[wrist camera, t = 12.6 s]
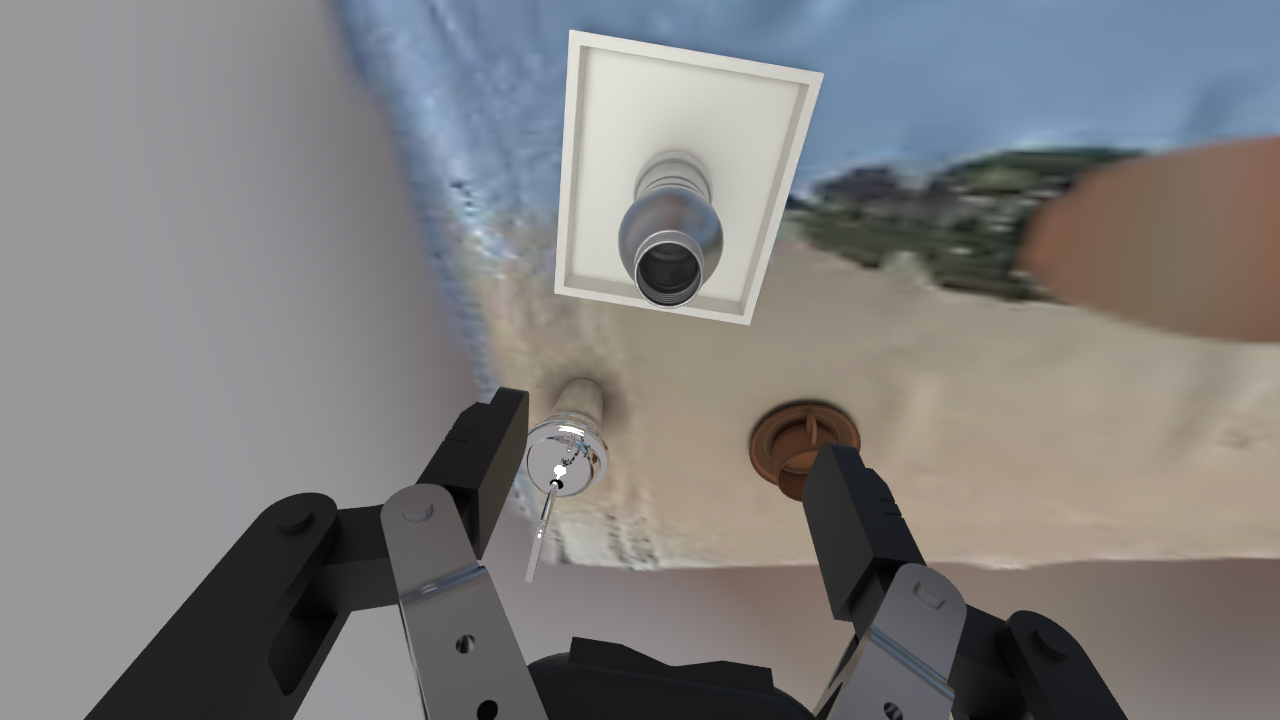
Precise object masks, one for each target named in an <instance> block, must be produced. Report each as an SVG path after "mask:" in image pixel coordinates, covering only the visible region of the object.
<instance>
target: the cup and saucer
mask: <svg viewBox="0 0 1280 720" xmlns="http://www.w3.org/2000/svg"><path fill="white" fill-rule="evenodd" d="M825 442H830V443H836V444H842V445H848V446H853V447H855V448H856V449H857V451H858V453H859V452H860V447H861V441H860V435H859V433H858V430H857V429H856V427H855V425H854V424H853V423H852V422H851V421H850V420H849V419H848V418H847V417H846V416H845V415H843V414H842V413H840V412H838V411H836V410H834V409H831V408H828V407H824V406H818V405H802V406H795V407H791V408H787V409H785V410H782V411H780V412H778V413H776V414H774V415H772V416H771V417H769V418H768V419H766V420H765V421H764V422H763V423H762V424H761V425H760V426H759V427H758V429H757V430H756V431H755V433H754V435H753V437H752V440H751V443H750V460H751V463H752V465H753V467H754V469H755V470H756V472H757V473H758V474H759V475H760V476H761V477H762V478H764V479H765V480H767V481H768V482H770V483H772V484H774V485H777V486H778V487H779V489H780V490H781V491H782V493H783V494H785V495H786V496H787V497H789V498H791V499H793V500H796V501H800V502H802V492H803V486H804V482H805V480H806V478H807V476H808V473H809V471H810V469H811V467H812V465H813V463H814V460H815V458H816V456H817V454H818V452H819V449H820V447H821V446H822V444H823V443H825Z"/></svg>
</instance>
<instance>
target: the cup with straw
mask: <svg viewBox="0 0 1280 720" xmlns="http://www.w3.org/2000/svg"><path fill="white" fill-rule="evenodd" d="M602 415H603V392H602V390H601V389H600V387H599V386H598V385H597V384H595V383H594V382H592V381H590V380H586V379H576V380H573V381H571V382H569V383H568V384H567V385H566V386H565V388H564V390H563V392H562V393H561V395H560V396H559V398H558V400H557V401H556V403H555V405H554V407H553V408H552V410H551V412H550V413H549V415H548V417H547V418H546V419H545V420H544V421H543V422H541V423H539V424H537V425H535V426H534V427H533V428H531V429H530V430H529V431H528V439H527V445H526V449H525V453H524V456H523V459H522V462H523V465H524V467H525V468H526V470H527V471H528V473H529V476H530V479H531V480H532V482H533V483H534V485H535V486H536V487H537V488H538V489H539V490H541V491H542V492H544V493H545V494H547V495H548V496H547V499H546V503H545V506H544V509H543V512H542V515H541V519H540V521H539V524H538V526H537V530H536V534H535V538H534V543H533V547H532V551H531V556H530V560H529V565H528V569H527V573H526V578H525V580H526V581H527V582H532V581H533V580H534V576H535V571H536V567H537V563H538V559H539V555H540V550H541V546H542V542H543V538H544V534H545V531H546V528H547V525H548V522H549V518H550V515H551V511H552V508H553V505H554V501H555V498H556V497H558V498H568V497H572V496H576V495H578V494H580V493H582V492H583V491H585V490H586V489H587V488H589V487H592V486H593V485H595V484H596V483H598V482H599V481H600V480H601V479H602V478H603V476H604V474H605V473H606V470H607V469H608V466H609V462H610V454H609V450H608V447H607V445H606V443H605V441H604V440H603V439H602Z"/></svg>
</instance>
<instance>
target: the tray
mask: <svg viewBox="0 0 1280 720" xmlns="http://www.w3.org/2000/svg"><path fill="white" fill-rule="evenodd" d="M823 77H824V73H819V72H814V71H808V70H802V69H796V68H790V67H785V66H779V65H773V64H767V63H761V62H755V61H750V60H744V59H738V58H732V57H726V56H721V55H715V54H709V53H703V52H697V51H692V50H686V49H680V48H674V47H668V46H663V45H657V44H651V43H645V42H639V41H634V40H628V39H622V38H616V37H610V36H605V35H599V34H593V33H587V32H581V31H576V30H570V32H569V50H568V67H567V84H566V101H565V118H564V135H563V152H562V170H561V187H560V204H559V221H558V238H557V255H556V272H555V290H554V293H556V294H562V295H568V296H574V297H580V298H586V299H592V300H599V301H605V302H611V303H617V304H623V305H629V306H635V307H641V308H647V309H653V310H659V311H665V312H671V313H677V314H683V315H689V316H695V317H701V318H707V319H713V320H719V321H726V322H732V323H738V324H744V325H750V322H751V319H752V315H753V312H754V309H755V305H756V302H757V299H758V295H759V292H760V288H761V285H762V282H763V278H764V275H765V272H766V268H767V265H768V262H769V258H770V255H771V252H772V248H773V245H774V241H775V238H776V235H777V231H778V228H779V225H780V221H781V218H782V215H783V211H784V208H785V204H786V201H787V198H788V194H789V191H790V188H791V184H792V181H793V178H794V174H795V171H796V167H797V164H798V161H799V157H800V154H801V151H802V147H803V144H804V141H805V137H806V134H807V131H808V127H809V124H810V120H811V117H812V114H813V110H814V107H815V104H816V100H817V97H818V94H819V90H820V87H821V83H822V80H823ZM671 151H676V152H683V153H686V154H689V155H691V156H693V157H694V158H696V159H697V160H698V161H699V162H700V163H702V165H703V166H704V167H705V169H706V170H707V172H708V174H709V176H710V178H711V182H712V186H713V200H712V207H713V208H714V210H715V212H716V213H717V216H718V218H719V220H720V222H721V226H722V230H723V238H724V245H723V252H722V256H721V259H720V262H719V264H718V266H717V268H716V269H715V271H714V273H713V274H712V275H711V277H710V278H709V279H708V280H707V281H706V282H705V284H703V285H702V286H701V289H700V290H699V292H698V294H697V295H696V296H695V297H694V298H693V300H691V301H690V302H689V303H687V304H685V305H683V306H681V307H678V308H673V309H664V308H659V307H656V306H654V305H652V304H650V303H649V302H647V301H646V300H645V299H644V298H643V297H642V296H641V295H640V293H639V292H638V290H637V288H636V285H635V282H634V281H633V280H632V279H631V278H630V276H629V274H628V273H627V271H626V269H625V268H624V266H623V264H622V261H621V258H620V256H619V250H618V233H619V229H620V224H621V222H622V220H623V217H624V215H625V213H626V212H627V210H628V209H629V207H630V206H631V205H632V203H633V202H634V199H633V190H634V185H635V180H636V178H637V176H638V174H639V172H640V170H641V169H642V167H643V166H644V165H645V164H646V163H647V162H648V161H649V160H650V159H652V158H653V157H655V156H656V155H659V154H662V153H664V152H671Z"/></svg>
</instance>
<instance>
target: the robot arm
mask: <svg viewBox="0 0 1280 720" xmlns="http://www.w3.org/2000/svg"><path fill="white" fill-rule="evenodd" d="M528 417H529V392H528V391H523V390H517V389H511V388H505V387H500V388H499V389H498V390H497V392H496V394H495V396H494V397H493V399H492V401H491V402H490V404H485V403H479V402H476V403H475V404H474V405H472V406H470V407H469V408H468V409H466V410H465V411H463V412H462V413H461V414H460V415H459V417H458V419H457V420H456V422H455V423H454V425H453V427H452V429H451V430H450V431H449V433H448V434H447V436H446V437H445V441H443V442H442V443H441V445H440V447H439V449H438V450H437V451H436V453H435V454H434V456H433V458H432V459H431V461H430V462H429V464H428V465H427V467H426V468H425V470H424V472H423V473H422V475H421V476H420V478H419V479H418V481H417V482H416V484H415V485H412V486H408V487H406V488H403V489H401V490H399V491H398V492H396V493H395V494H393V495H392V496H391V497H390V498H389V499H388V500H387V501H386V502H385V504H381V505H377V506H370V507H360V508H350V509H340V510H337V506H336V504H335V502H334V501H333V500H332V499H331V498H330V497H328V496H327V495H324V494H320V493H301V494H296V495H292V496H289V497H286V498H284V499H281V500H279V501H277V502H276V503H274V504H272V505H271V506H269V507H268V508H267V509H265V510H264V511H263V512H262V513H261V514H260V515H259V516H258V518H257V519H256V520H255V521H254V522H253V523H252V524H251V526H250V527H249V528H248V529H247V530H246V531H245V533H244V534H243V535H242V536H241V537H240V538H239V539H238V541H237V542H236V543H235V544H234V545H233V546H232V548H231V549H230V550H229V551H228V552H227V554H226V555H225V556H224V557H223V558H222V559H221V560H220V562H219V563H218V564H217V565H216V566H215V568H214V569H213V570H212V571H211V572H210V573H209V574H208V576H207V577H206V578H205V579H204V580H203V581H202V583H201V584H200V585H199V586H198V587H197V588H196V590H195V591H194V592H193V593H192V594H191V595H190V596H189V598H188V599H187V600H186V601H185V602H184V603H183V605H182V606H181V607H180V608H179V609H178V611H177V612H176V613H175V614H174V615H173V616H172V617H171V619H170V620H169V621H168V622H167V623H166V624H165V626H164V627H163V628H162V629H161V630H160V631H159V633H158V634H157V635H156V636H155V637H154V638H153V640H152V641H151V642H150V643H149V644H148V645H147V647H146V648H145V649H144V650H143V651H142V652H141V653H140V655H139V656H138V657H137V658H136V659H135V660H134V662H133V663H132V664H131V665H130V666H129V667H128V669H127V670H126V671H125V672H124V673H123V674H122V676H121V677H120V678H119V679H118V680H117V681H116V683H115V684H114V685H113V686H112V687H111V688H110V690H109V691H108V692H107V693H106V694H105V695H104V697H103V698H102V699H101V700H100V701H99V702H98V704H97V705H96V706H95V707H94V708H93V709H92V711H91V712H90V713H89V714H88V715H87V716H86V717H85V719H84V720H293V718H294V716H295V715H296V713H297V711H298V709H299V707H300V705H301V704H302V702H303V700H304V698H305V696H306V694H307V692H308V691H309V689H310V687H311V685H312V683H313V681H314V680H315V678H316V676H317V674H318V672H319V670H320V668H321V666H322V665H323V663H324V661H325V659H326V657H327V655H328V654H329V652H330V650H331V648H332V646H333V644H334V643H335V641H336V639H337V637H338V635H339V633H340V631H341V630H342V628H343V626H344V624H345V622H346V620H347V618H348V617H349V615H350V613H351V611H357V610H364V609H370V608H376V607H383V606H389V605H396V604H398V608H399V613H400V617H401V621H402V625H403V630H404V634H405V638H406V642H407V647H408V651H409V655H410V659H411V664H412V668H413V672H414V677H415V681H416V686H417V690H418V695H419V700H420V704H421V709H422V713H423V718H424V720H949V716H950V712H951V713H952V716H953V718H954V720H1128V719H1127V717H1126V716H1125V714H1124V712H1123V711H1122V709H1121V708H1120V706H1119V705H1118V703H1117V702H1116V700H1115V698H1114V697H1113V695H1112V694H1111V692H1110V690H1109V689H1108V687H1107V686H1106V684H1105V683H1104V681H1103V679H1102V678H1101V676H1100V675H1099V673H1098V672H1097V670H1096V668H1095V667H1094V665H1093V664H1092V662H1091V661H1090V659H1089V657H1088V656H1087V654H1086V653H1085V651H1084V650H1083V648H1082V647H1081V646H1080V644H1079V643H1078V642H1077V641H1076V640H1075V639H1074V638H1073V637H1072V636H1071V635H1070V634H1069V633H1068V632H1067V631H1066V630H1065V629H1063V628H1062V627H1061V626H1059V625H1058V624H1057V623H1055V622H1054V621H1052V620H1050V619H1049V618H1047V617H1045V616H1043V615H1040V614H1038V613H1035V612H1031V611H1026V610H1022V611H1017V612H1015V613H1013V614H1012V615H1011V616H1010V617H1009V619H1007V621H1004V620H1002V619H1000V618H997V617H995V616H993V615H990V614H988V613H986V612H983V611H981V610H979V609H976V608H974V607H972V606H970V605H968V604H966V603H965V601H964V599H963V597H962V595H961V594H960V592H959V591H958V590H957V588H956V587H955V586H954V585H953V584H952V583H951V582H950V581H949V580H948V579H947V578H946V577H945V576H943V575H942V574H940V573H939V572H937V571H935V570H933V569H932V568H929V567H927V565H926V563H925V561H924V559H923V557H922V555H921V553H920V551H919V549H918V547H917V545H916V543H915V541H914V539H913V537H912V535H911V533H910V530H909V528H908V526H907V524H906V522H905V520H904V518H902V517H901V515H902V514H901V512H900V510H899V508H898V506H897V504H895V500H894V498H893V496H892V494H891V492H890V489H889V487H888V485H887V484H886V483H885V482H884V481H883V480H882V479H881V478H880V476H879V475H878V474H877V473H876V472H875V471H874V470H873V469H870V468H865V466H864V464H863V461H862V459H861V457H860V455H859V453H858V451H857V449H856V448H855V447H853V446H848V445H842V444H836V443H830V442H825V443H823V444H822V446H821V447H820V449H819V452H818V454H817V456H816V458H815V460H814V463H813V465H812V467H811V469H810V471H809V473H808V476H807V478H806V480H805V482H804V486H803V492H802V502H803V507H804V511H805V515H806V518H807V522H808V525H809V529H810V533H811V536H812V540H813V544H814V547H815V551H816V555H817V558H818V562H819V566H820V569H821V573H822V577H823V580H824V584H825V588H826V591H827V595H828V599H829V602H830V606H831V610H832V613H833V616H834V619H836V620H842V621H848V622H853V625H854V628H855V633H854V635H853V636H852V638H851V639H850V641H849V643H848V645H847V647H846V649H845V651H844V653H843V655H842V657H841V659H840V661H839V663H838V665H837V667H836V669H835V671H834V672H833V674H832V676H831V678H830V680H829V682H828V684H827V686H826V688H825V690H824V692H823V694H822V696H821V698H820V700H819V701H818V703H817V705H816V707H815V708H814V710H813V712H812V713H811V712H810V711H809V710H808V709H807V708H806V707H804V706H803V705H802V704H801V703H800V702H798V701H797V700H796V699H794V698H793V697H791V696H790V695H788V694H787V693H785V692H783V691H782V690H780V689H778V688H776V687H774V685H773V678H772V672H771V668H765V667H759V666H753V665H747V664H741V663H734V662H728V661H715V662H708V663H700V664H692V665H684V666H669V665H666V664H664V663H662V662H660V661H657V660H655V659H653V658H651V657H648V656H646V655H644V654H642V653H640V652H638V651H635V650H633V649H631V648H629V647H626V646H624V645H622V644H616V643H610V642H604V641H597V640H592V639H585V638H579V637H573V638H572V643H571V648H570V652H566V653H559V654H555V655H551V656H547V657H545V658H542V659H540V660H537V661H535V662H533V663H531V664H529V665H528V666H527V665H526V663H525V660H524V658H523V656H522V653H521V651H520V648H519V646H518V643H517V641H516V638H515V636H514V633H513V631H512V628H511V626H510V623H509V621H508V619H507V616H506V614H505V611H504V609H503V606H502V604H501V601H500V599H499V596H498V594H497V591H496V589H495V587H494V584H493V582H492V579H491V577H490V574H489V572H488V570H487V569H486V567H485V566H481V567H480V566H479V564H478V562H477V560H481V559H482V556H483V553H484V551H485V549H486V547H487V544H488V542H489V539H490V536H491V534H492V532H493V529H494V527H495V524H496V522H497V520H498V517H499V515H500V512H501V510H502V508H503V505H504V503H505V500H506V498H507V495H508V493H509V491H510V488H511V486H512V483H513V481H514V478H515V476H516V474H517V471H518V469H519V466H520V464H521V461H522V459H523V456H524V453H525V449H526V445H527V439H528Z"/></svg>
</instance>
